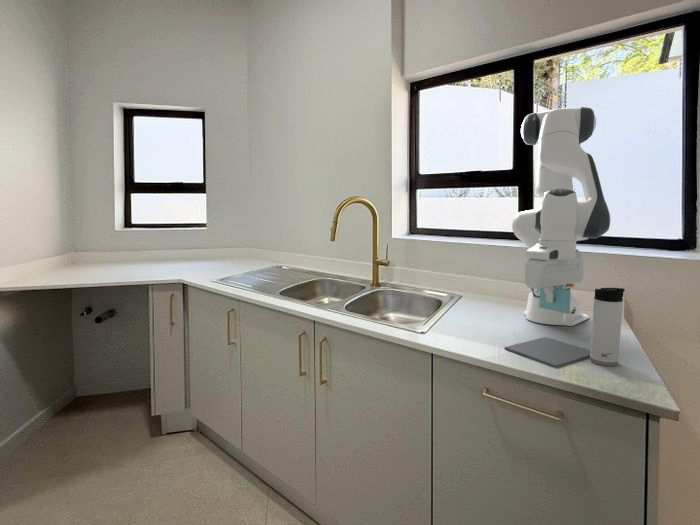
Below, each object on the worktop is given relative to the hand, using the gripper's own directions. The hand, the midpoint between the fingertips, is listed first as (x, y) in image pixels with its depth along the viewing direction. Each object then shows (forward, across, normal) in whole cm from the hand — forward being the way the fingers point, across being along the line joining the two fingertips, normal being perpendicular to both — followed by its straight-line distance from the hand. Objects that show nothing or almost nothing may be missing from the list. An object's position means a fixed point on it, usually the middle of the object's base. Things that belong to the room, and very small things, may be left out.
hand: (554, 301), depth 111 cm
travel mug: (+15, -6, +11) cm, 19 cm away
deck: (+2, 0, 0) cm, 2 cm away
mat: (+15, -1, -1) cm, 15 cm away
